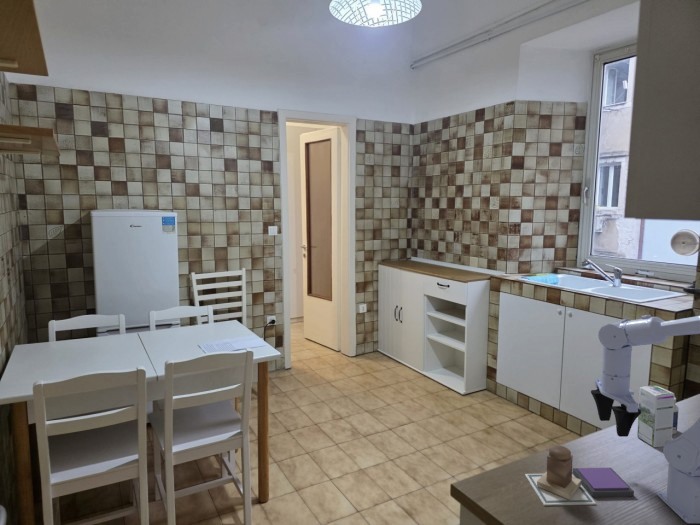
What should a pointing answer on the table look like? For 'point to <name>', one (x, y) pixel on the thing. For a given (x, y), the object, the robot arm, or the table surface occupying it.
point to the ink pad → (602, 482)
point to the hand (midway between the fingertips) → (613, 427)
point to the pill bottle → (675, 417)
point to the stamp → (559, 473)
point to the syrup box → (655, 415)
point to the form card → (551, 499)
